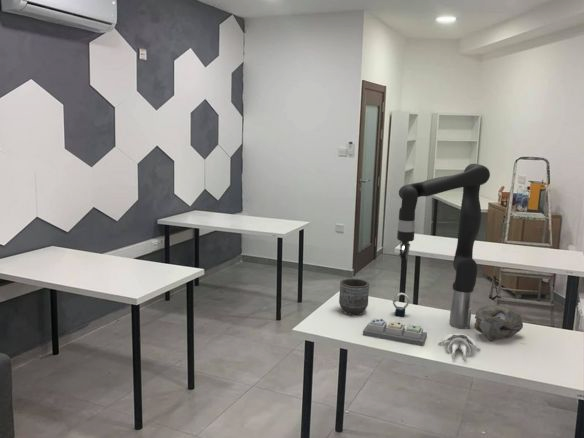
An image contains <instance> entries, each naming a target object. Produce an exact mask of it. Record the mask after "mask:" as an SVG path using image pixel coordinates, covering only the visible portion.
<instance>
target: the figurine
mask: <svg viewBox="0 0 584 438" xmlns="http://www.w3.org/2000/svg"><path fill="white" fill-rule="evenodd" d="M449 341H450V342H449ZM445 342H449V343H448V345H447V346H448V347H447V352H448V353H449V354H451V359H452V360H453V359H455V357H456V351H457V350H460V352H462V360H463V361H464V362H465V361H466V360H467V357H469V356H470V355H471V354H472V348H471V346H473V348H475V349H476V351H477V352H478V353H480V352H481V351H482V350H481V348H480V347H478V345H477V344H476V343H475V341H474V339H473V338H472V337H471V336H469V335H467V334H463V333H458V332H457V333H449V334H447V335H446V336H445V337H444V338H443V339H442V340H441V341H438V343H437V346H439V347H440V346H441V345H442V344H444V343H445ZM470 345H471V346H470Z"/></svg>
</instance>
